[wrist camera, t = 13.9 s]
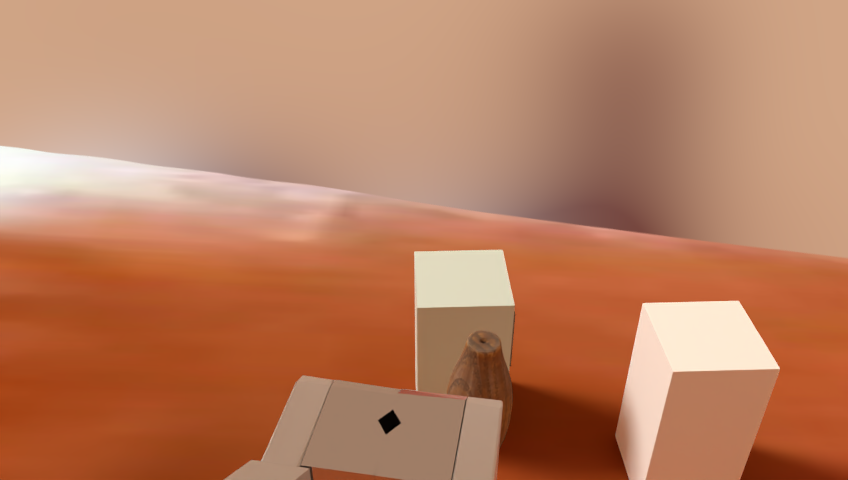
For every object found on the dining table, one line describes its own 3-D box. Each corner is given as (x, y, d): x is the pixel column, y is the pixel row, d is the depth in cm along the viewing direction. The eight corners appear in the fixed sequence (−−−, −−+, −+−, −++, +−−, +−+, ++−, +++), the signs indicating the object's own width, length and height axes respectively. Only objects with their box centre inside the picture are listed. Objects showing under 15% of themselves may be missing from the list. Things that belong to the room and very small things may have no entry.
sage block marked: (418, 440, 44) (416, 307, 38) (415, 379, 48) (414, 251, 43) (508, 438, 44) (520, 305, 39) (498, 377, 48) (507, 249, 43)
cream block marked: (638, 508, 40) (672, 371, 35) (615, 435, 44) (642, 303, 39) (736, 505, 40) (786, 368, 35) (704, 433, 45) (744, 300, 39)
